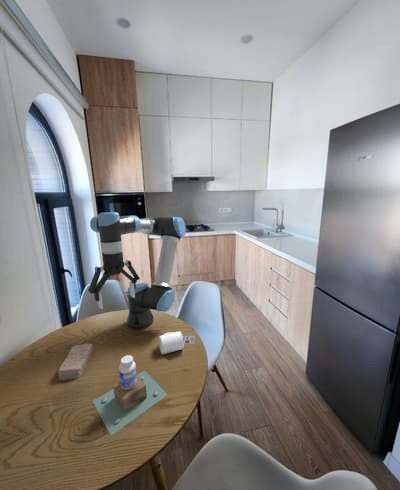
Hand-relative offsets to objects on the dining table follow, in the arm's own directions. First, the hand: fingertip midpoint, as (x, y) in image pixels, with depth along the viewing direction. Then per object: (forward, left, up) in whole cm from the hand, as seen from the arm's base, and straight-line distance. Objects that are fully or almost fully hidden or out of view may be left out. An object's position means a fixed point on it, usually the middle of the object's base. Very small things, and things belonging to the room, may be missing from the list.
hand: (117, 302), depth 89 cm
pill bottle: (+6, +19, -22) cm, 30 cm away
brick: (+15, -13, -29) cm, 35 cm away
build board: (+6, +20, -28) cm, 35 cm away
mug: (-21, +6, -29) cm, 36 cm away
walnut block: (+6, +20, -27) cm, 34 cm away
